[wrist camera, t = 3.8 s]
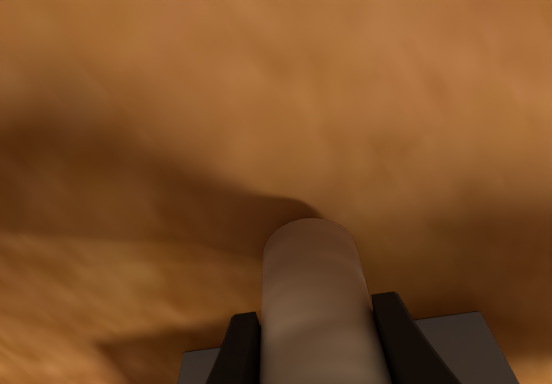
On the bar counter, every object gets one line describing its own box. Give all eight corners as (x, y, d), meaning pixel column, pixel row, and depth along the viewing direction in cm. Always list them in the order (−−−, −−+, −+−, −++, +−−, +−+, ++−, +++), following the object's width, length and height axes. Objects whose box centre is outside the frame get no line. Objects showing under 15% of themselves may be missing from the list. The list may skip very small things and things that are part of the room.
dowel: (351, 210, 13) (439, 523, 6) (360, 281, 14) (436, 585, 8) (253, 226, 13) (233, 540, 6) (273, 293, 15) (274, 596, 8)
